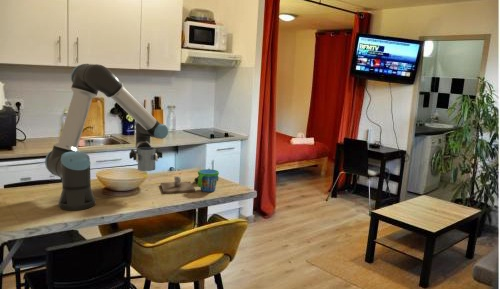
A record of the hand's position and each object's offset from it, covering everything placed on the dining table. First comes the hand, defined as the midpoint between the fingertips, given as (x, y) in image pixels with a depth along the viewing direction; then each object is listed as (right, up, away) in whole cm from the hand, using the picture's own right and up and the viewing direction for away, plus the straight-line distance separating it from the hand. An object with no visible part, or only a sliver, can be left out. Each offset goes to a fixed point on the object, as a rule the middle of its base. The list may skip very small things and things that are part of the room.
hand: (147, 158), depth 192 cm
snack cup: (+26, -17, +24) cm, 39 cm away
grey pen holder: (-2, -5, +6) cm, 8 cm away
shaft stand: (+10, -16, +25) cm, 31 cm away
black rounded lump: (+22, -15, +39) cm, 47 cm away
